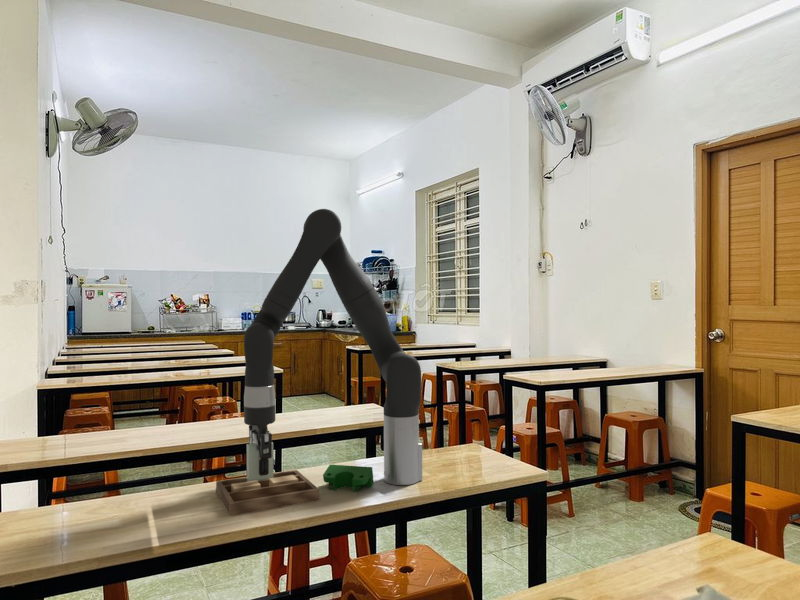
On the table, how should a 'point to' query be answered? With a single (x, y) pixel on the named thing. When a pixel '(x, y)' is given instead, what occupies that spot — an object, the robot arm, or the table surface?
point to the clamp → (348, 476)
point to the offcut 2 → (282, 480)
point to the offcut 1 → (245, 486)
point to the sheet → (256, 464)
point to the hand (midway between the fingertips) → (260, 470)
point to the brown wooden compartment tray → (266, 494)
